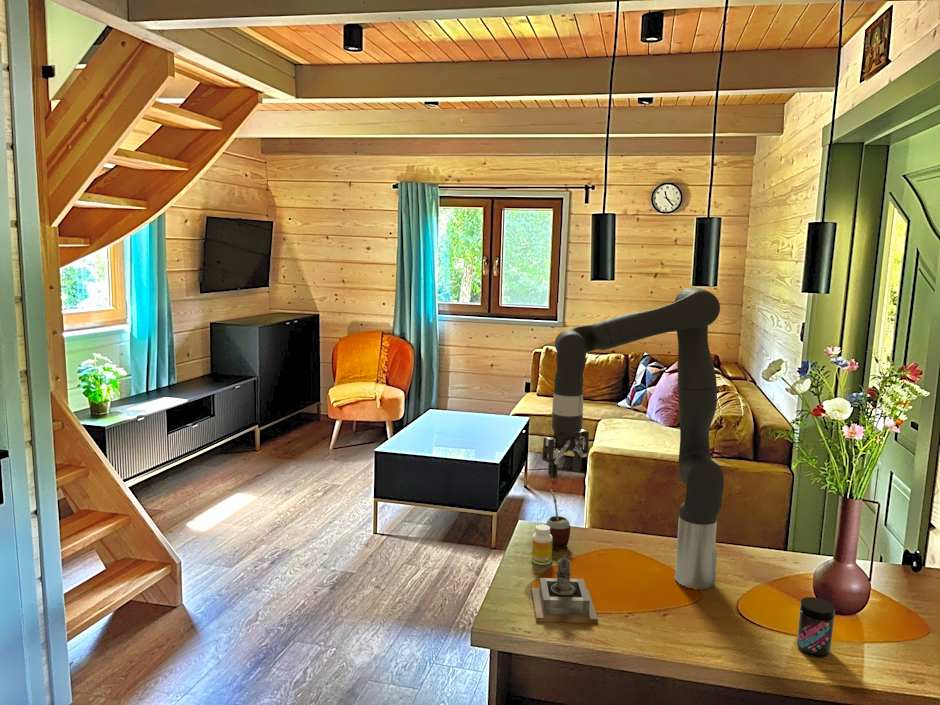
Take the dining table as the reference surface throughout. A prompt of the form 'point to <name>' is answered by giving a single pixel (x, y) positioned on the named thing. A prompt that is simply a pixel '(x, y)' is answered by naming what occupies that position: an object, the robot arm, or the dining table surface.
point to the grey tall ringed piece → (563, 580)
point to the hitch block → (563, 603)
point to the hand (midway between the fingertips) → (565, 474)
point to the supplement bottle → (542, 545)
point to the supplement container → (815, 626)
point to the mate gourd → (559, 529)
